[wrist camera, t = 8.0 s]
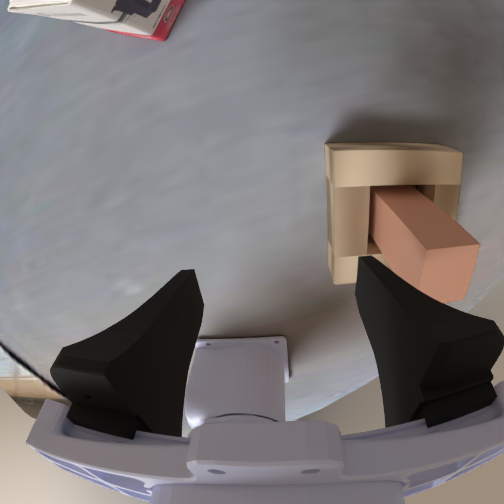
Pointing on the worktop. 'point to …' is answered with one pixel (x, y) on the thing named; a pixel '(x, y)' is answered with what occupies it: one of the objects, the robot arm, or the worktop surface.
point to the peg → (422, 242)
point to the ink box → (109, 14)
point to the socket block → (376, 174)
